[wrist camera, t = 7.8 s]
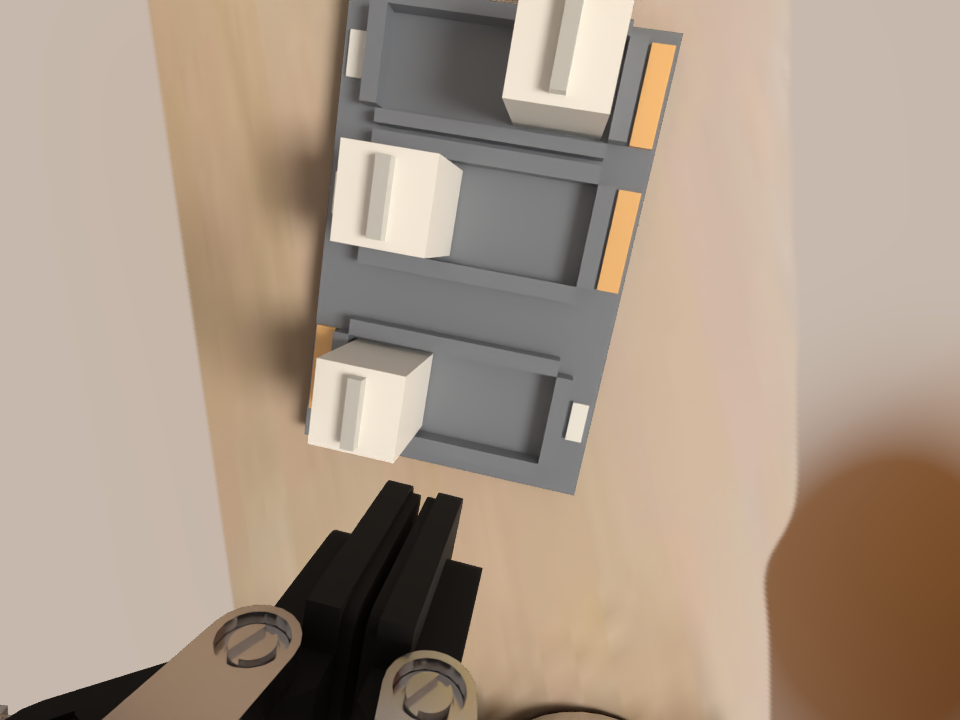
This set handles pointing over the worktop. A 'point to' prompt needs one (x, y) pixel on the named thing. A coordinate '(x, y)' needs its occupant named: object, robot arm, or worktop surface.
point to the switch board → (502, 214)
